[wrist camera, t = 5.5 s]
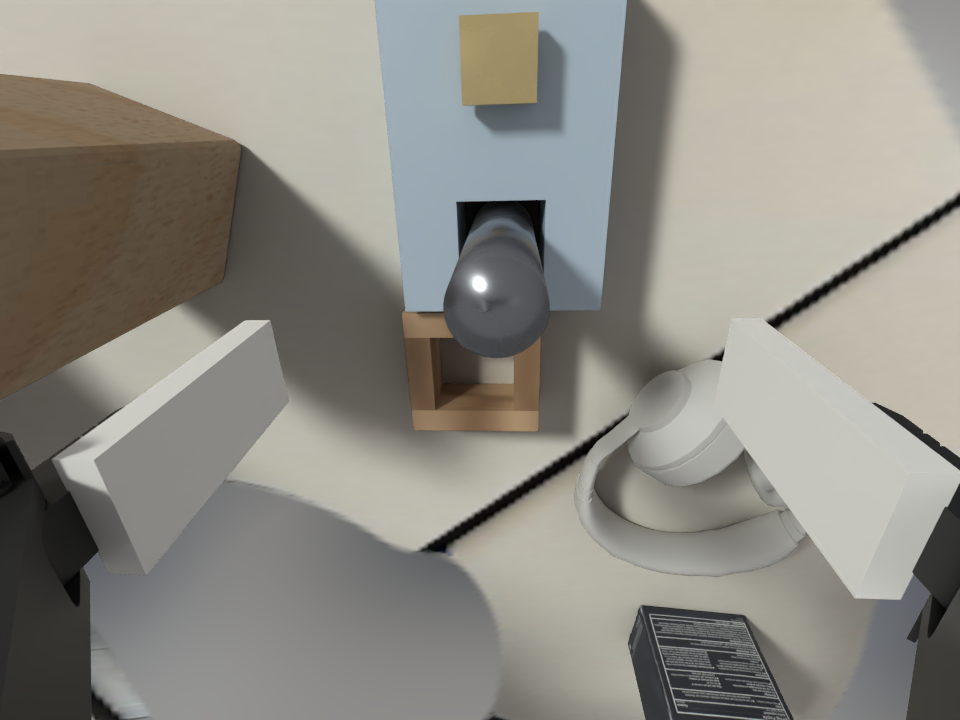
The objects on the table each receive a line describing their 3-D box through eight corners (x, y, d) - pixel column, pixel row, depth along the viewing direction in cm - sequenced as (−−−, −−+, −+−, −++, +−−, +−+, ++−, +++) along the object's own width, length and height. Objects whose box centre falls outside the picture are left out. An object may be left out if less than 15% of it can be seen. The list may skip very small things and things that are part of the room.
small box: (624, 645, 50) (651, 765, 41) (638, 603, 47) (670, 721, 38) (727, 655, 50) (777, 778, 41) (746, 613, 47) (806, 735, 38)
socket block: (419, 287, 35) (405, 311, 30) (392, -26, 27) (368, -56, 22) (588, 286, 34) (600, 310, 29) (611, -37, 26) (632, -71, 22)
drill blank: (473, 259, 34) (446, 357, 19) (471, 199, 32) (439, 257, 17) (531, 258, 33) (547, 357, 19) (532, 197, 32) (551, 255, 17)
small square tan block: (471, 109, 29) (462, 105, 23) (468, 36, 27) (458, 15, 22) (532, 107, 28) (536, 102, 23) (533, 34, 27) (538, 11, 22)
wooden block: (245, 142, 31) (-119, 162, 13) (226, 282, 35) (-70, 443, 17) (87, 81, 30) (-544, 10, 12) (86, 232, 34) (-381, 348, 16)
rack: (422, 402, 39) (413, 430, 35) (412, 294, 35) (401, 313, 31) (535, 402, 38) (538, 431, 35) (538, 293, 34) (541, 312, 31)
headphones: (625, 319, 34) (549, 501, 45) (647, 385, 28) (552, 579, 39) (871, 372, 35) (737, 538, 46) (949, 448, 28) (771, 621, 40)
